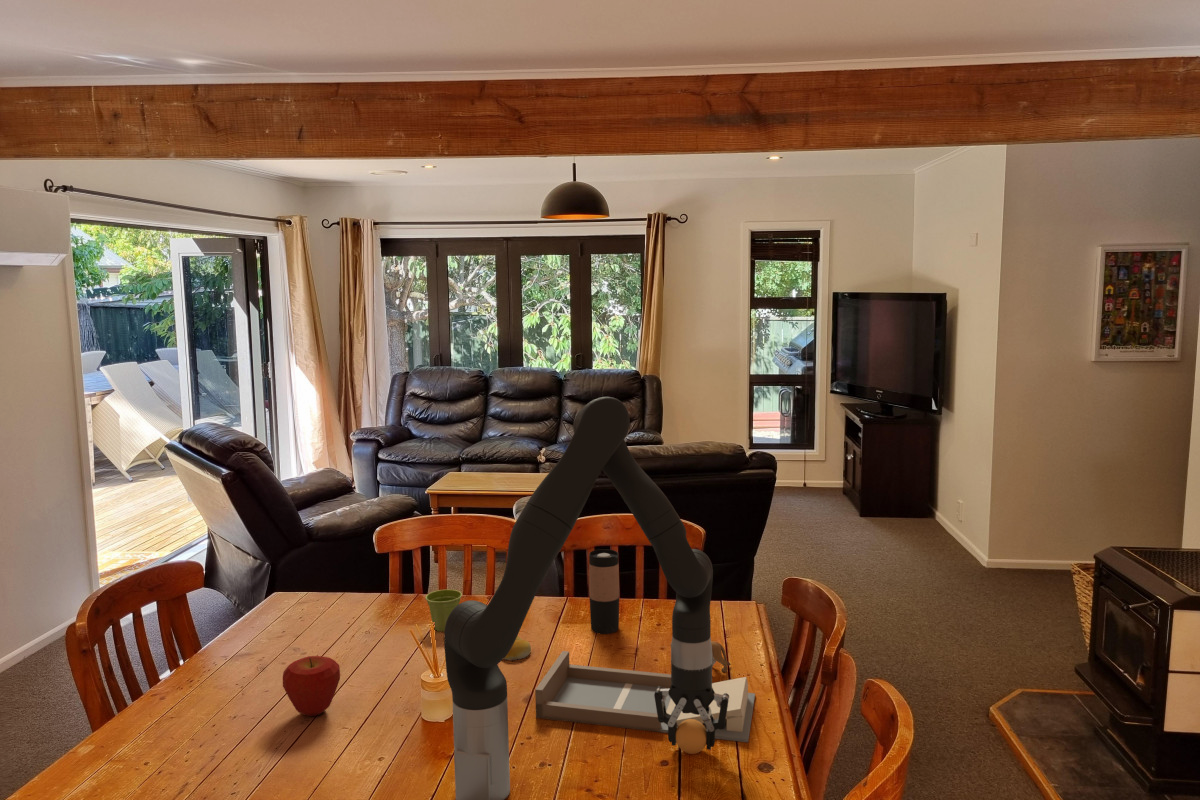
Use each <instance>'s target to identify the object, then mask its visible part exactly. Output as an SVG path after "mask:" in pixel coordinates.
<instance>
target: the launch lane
mask: <svg viewBox="0 0 1200 800" xmlns="http://www.w3.org/2000/svg"><path fill="white" fill-rule="evenodd" d="M658 686H660V687H662V688H663V689H669V688H670V686H671V673H661V672H660V673H659V672H651V671H650V672H649V671H642V670H641V671H640V670H633V669H621V668H620V669H619V668H612V667H611V668H610V667H601V666H600V667H599V666H589V665H579V664H572V663H571V664H570V651H568V650H567V651H566V650H562V651H561V653H560V654H559V655H558V657H557V658H556V660H555V661H554V663H552V666H551V667H550V668H549V669H548V671H547V672H546V674H545V675H544V677H543V678H542V679H541V681H540V683H539V684H538V685H537V686H536V687H535V691H534V692H535V693H534V696H535V719H545V720H552V721H553V720H554V721H561V722H571V723H578V724H579V723H580V724H588V725H595V726H596V725H597V726H604V727H611V728H612V727H615V728H621V729H622V728H623V729H630V730H639V731H646V732H647V731H648V732H656V733H665V734H668V725H667V724H666V723H664V722H663V723H660V722H659V721H658V716H657V709H656V703H655V697H654V694H655V691H656V689H657V687H658ZM712 688H713V690H714V692H715V693H716V694H721V695H723V694H724V693H727V694H728V695H729V701H728V708H727V714H726V720H725V725H724V729H722V730H720V729H716V730H715V740H725V741H733V742H741V743H749V739H750V732H751V726H752V718H753V712H754V705H755V700H756V698H755V697H756V693H754V692H749V682H748V678H747V677H746V676H744V677H738V678H737V677H736V678H734V679H733V678H732V679H728V680H722V681H718V682H712ZM665 706H666V712H667V714H670V715H671V713H672V712H673V710H674V707H675V703H674V702H673V700H672V699H671V698H670V696H669V695H668V696H667V699H666V701H665ZM709 707H710V709H711V712H712V715H713V717H714V719H719V713H720V707H718V706H717V703H716V701H715V700H713V701H712V703H711V704H710V705H709ZM687 719H694V720H697V721H699V722H701V723H702V724H703V725H704V727H705V728H706V730H707V726H706V724H705V722H704V721H703V720H702V718H701V716H700V714H699V715H696V714H693V713H683V712H682V711H681V713H680V715H679V717H678V719H677V720H676V722H677V727H678V726H679V724H680V723H681V722H683V721H685V720H687Z"/></svg>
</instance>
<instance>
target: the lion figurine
mask: <svg viewBox="0 0 1200 800" xmlns="http://www.w3.org/2000/svg"><path fill="white" fill-rule="evenodd" d="M671 643H672V641H671V642H670V644H671ZM711 644H712V654H713V658H712V667H714V665H715V664H716V662H717V663H720V664H721V665H722V666H723V667H722V668H721V669H720V670H721V672H722V673H726V672H728V666H730V665H731V663H730V662H729V661H728V659H727V654H726V650H725V648H724V646H723V644H721V643H719V642H717V641H713V640H711Z"/></svg>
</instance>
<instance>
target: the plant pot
mask: <svg viewBox="0 0 1200 800" xmlns="http://www.w3.org/2000/svg"><path fill="white" fill-rule="evenodd" d="M462 596H463V593H462V592H461V591H460V590H456V589H439V590H435V591H431V592H428V594H426V595H425V600H426V602H427V605H428V606H429V608H428V609H429V612H430V616H431V623H432V622H435V629H434V631H436V630H437V631H436V632H442V631H443V632H444V631H445V625H446V621H447V619H448V616H449V615H450V613H451V612H452V610H453V609H454V608H455V607H456V606H457V605H459V604H460V603H461V598H463V597H462Z"/></svg>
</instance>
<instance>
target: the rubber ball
mask: <svg viewBox="0 0 1200 800" xmlns="http://www.w3.org/2000/svg"><path fill="white" fill-rule="evenodd" d="M675 737H676V742H677V743H676V745H677V747H678V748H679V749H680V750H681V751H683V752H684V753H686V754H690V755H695V754H698V753H700V752H702V751H703V750H704V749H705V747H707V730H706V728H705V727H704V725H703V724H702V723H701V722H699V721H697V720H694V719H687V720H685V721H683V722H681V723H680V724H679V726H678V727H677V730H676V736H675Z"/></svg>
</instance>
